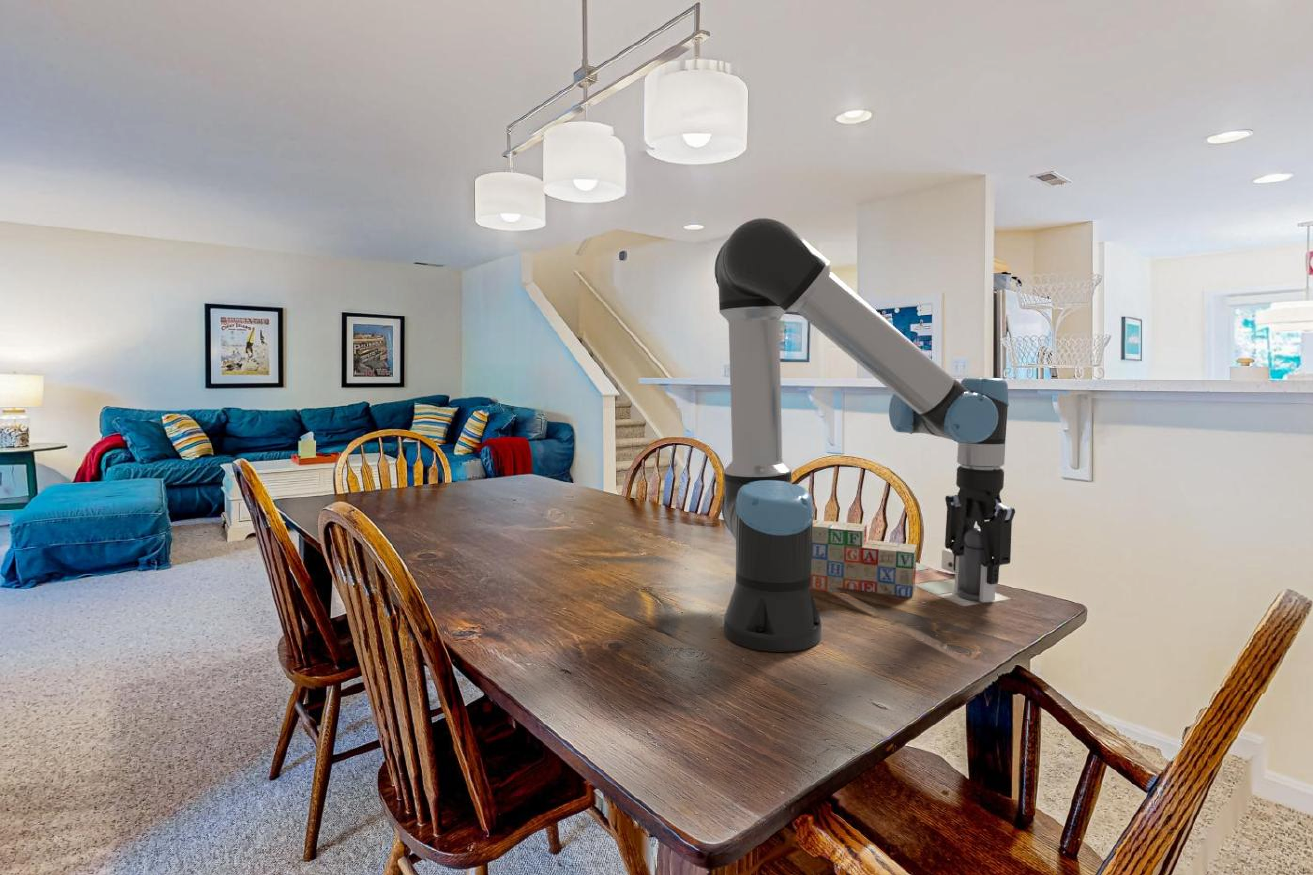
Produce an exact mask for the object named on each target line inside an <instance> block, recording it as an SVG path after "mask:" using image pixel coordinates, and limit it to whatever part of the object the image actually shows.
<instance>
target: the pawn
mask: <svg viewBox="0 0 1313 875" xmlns="http://www.w3.org/2000/svg"><path fill="white" fill-rule="evenodd" d="M965 543H966V545H965V546H964V559H963V581H962V587H961V588H959V589H958V596H959V597H960V598H962V599H965V600H969V601H975V602H981V601H979V598H980V577H981V565H982V563H985V558H984V551H983V545H982V538H981V532H980V527H974V528H972V529H970V530H968V531H967V532H966V534H965Z"/></svg>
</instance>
